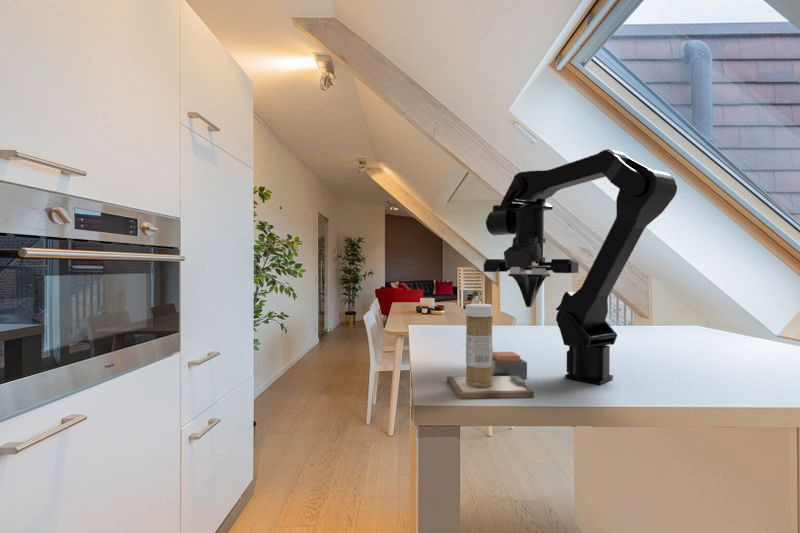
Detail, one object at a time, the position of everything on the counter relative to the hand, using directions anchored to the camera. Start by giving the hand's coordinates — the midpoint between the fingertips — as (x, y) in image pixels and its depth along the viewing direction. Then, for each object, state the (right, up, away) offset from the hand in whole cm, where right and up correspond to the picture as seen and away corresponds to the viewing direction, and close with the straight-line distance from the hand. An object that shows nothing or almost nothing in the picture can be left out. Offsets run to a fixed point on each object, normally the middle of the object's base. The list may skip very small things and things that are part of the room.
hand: (528, 307), depth 94 cm
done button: (-7, -11, -9) cm, 16 cm away
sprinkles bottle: (-14, -11, -20) cm, 27 cm away
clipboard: (-12, -12, -19) cm, 26 cm away
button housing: (-7, -12, -9) cm, 17 cm away
